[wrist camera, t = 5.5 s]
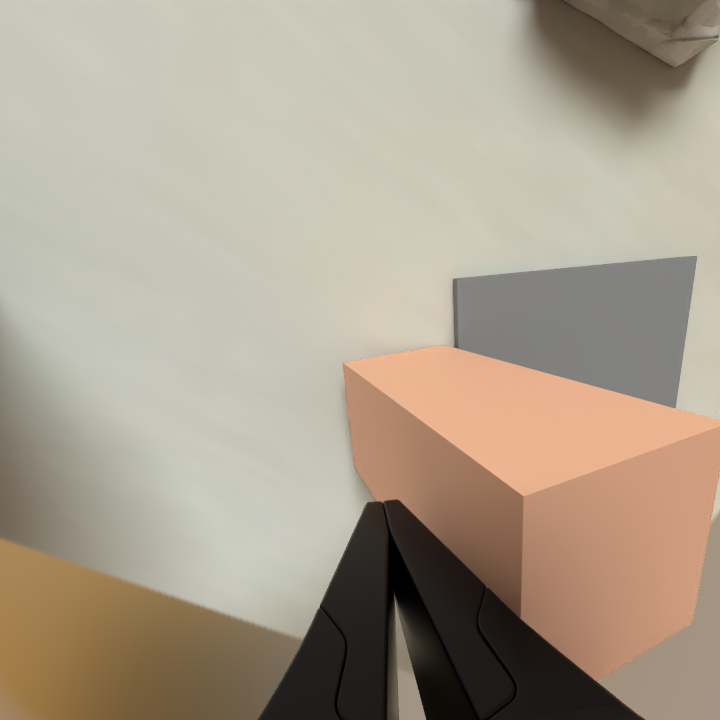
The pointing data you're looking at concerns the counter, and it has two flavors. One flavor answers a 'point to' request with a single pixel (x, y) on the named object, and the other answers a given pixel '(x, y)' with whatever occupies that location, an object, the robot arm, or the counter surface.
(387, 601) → the robot arm
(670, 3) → the packaged product
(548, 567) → the terracotta block
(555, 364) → the gray square plate
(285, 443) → the counter surface
